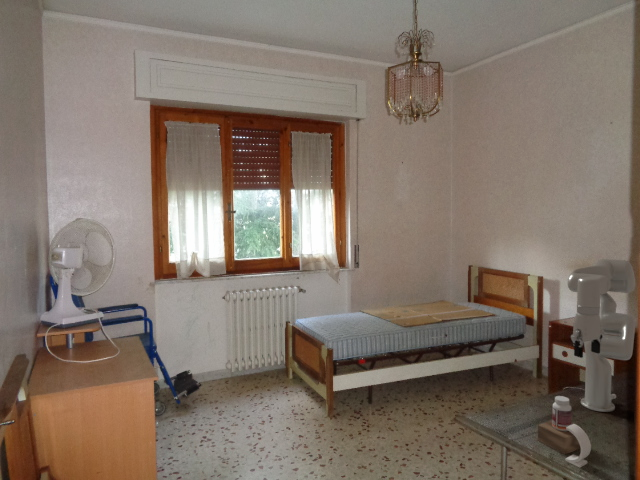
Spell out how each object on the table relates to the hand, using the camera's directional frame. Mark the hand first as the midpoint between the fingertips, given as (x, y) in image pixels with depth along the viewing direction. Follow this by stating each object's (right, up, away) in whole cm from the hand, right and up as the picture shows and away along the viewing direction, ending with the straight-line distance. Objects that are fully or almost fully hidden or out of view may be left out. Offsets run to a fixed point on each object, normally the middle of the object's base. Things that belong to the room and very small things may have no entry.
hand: (587, 354), depth 178 cm
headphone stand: (-14, -33, -18) cm, 40 cm away
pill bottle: (-13, -25, -6) cm, 29 cm away
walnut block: (-13, -31, -6) cm, 34 cm away
